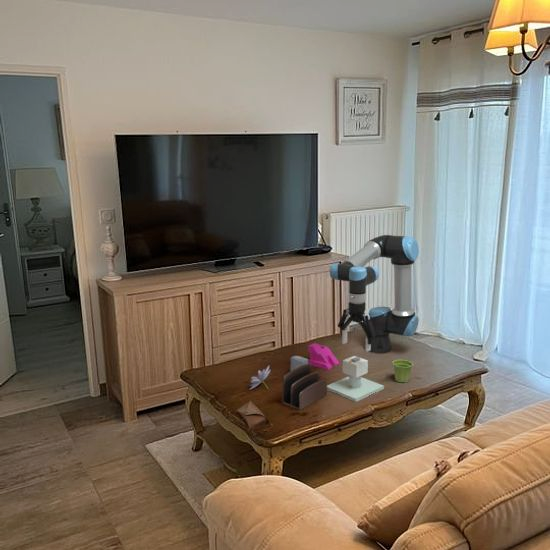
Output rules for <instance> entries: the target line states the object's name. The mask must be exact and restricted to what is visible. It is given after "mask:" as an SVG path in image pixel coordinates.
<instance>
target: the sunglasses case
mask: <svg viewBox="0 0 550 550" xmlns="http://www.w3.org/2000/svg"><path fill="white" fill-rule="evenodd" d="M235 412H236V413H237V414H238V415H239V416H240V417H241V418H242V420H243V421H244V422H245V423H246V424H247V425H246V426H248V428H249V429H255V428H259V426H260V427H263V425H265V426H268V425H269V424H270V421H269V419H268V418H267V416H266V415H265V414H264V413H263V412H262V410H260V409H259V408H258V407H257V406H256V405H255V403H253V402H252V400H249V401H248V402H247V403H245V404H244V405H242V406H241V407H239V408H238V409H236V410H235ZM267 424H268V425H267Z"/></svg>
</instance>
